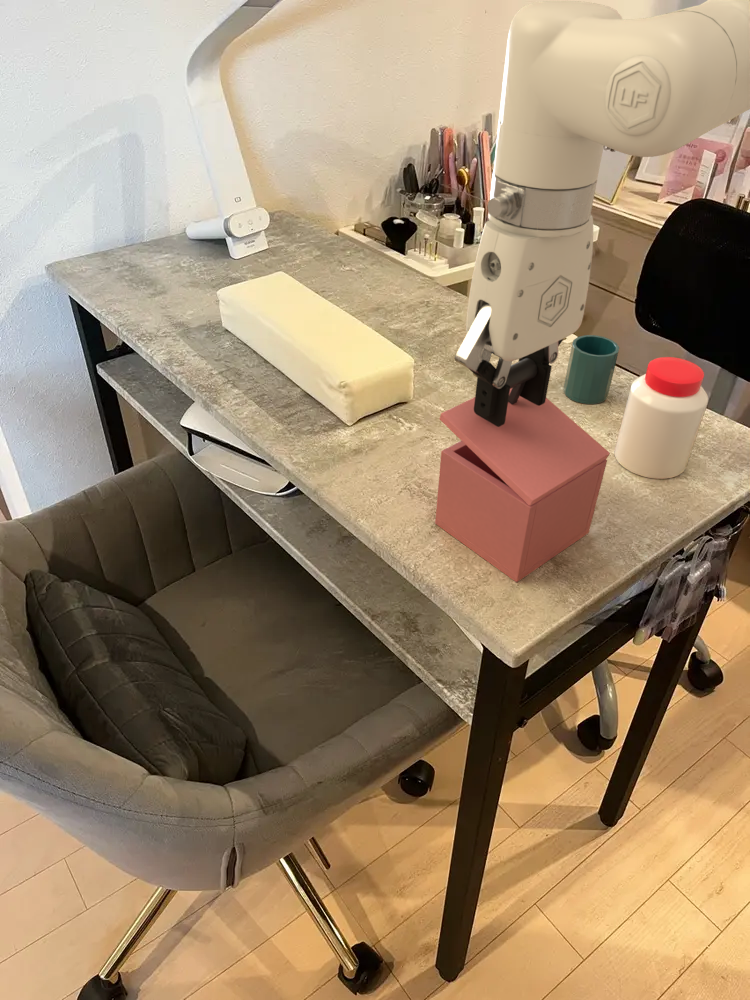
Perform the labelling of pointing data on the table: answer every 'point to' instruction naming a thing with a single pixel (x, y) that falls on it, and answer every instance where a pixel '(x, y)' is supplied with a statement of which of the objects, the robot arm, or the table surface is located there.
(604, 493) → the table surface
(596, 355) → the cup
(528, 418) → the lid
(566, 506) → the pink box
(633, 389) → the pill bottle
